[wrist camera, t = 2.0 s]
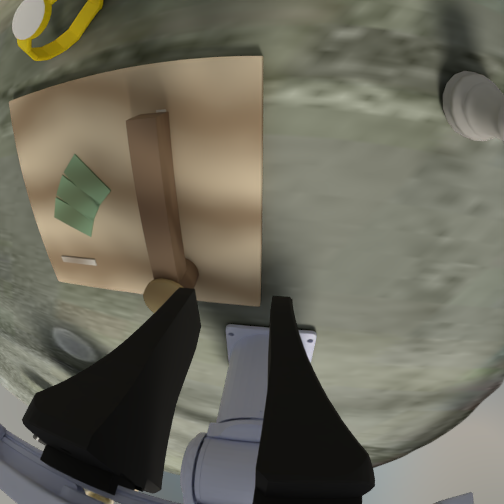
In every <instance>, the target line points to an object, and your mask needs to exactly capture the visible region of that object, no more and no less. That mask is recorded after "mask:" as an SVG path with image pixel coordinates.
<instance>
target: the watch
mask: <svg viewBox="0 0 504 504" xmlns="http://www.w3.org/2000/svg"><path fill="white" fill-rule="evenodd" d="M56 1H57V0H24V1H23V2H22V3H21V4H20V6H19V7H18V8H17V10H16V13H15V15H14V18H13V22H12V30H13V34H14V36H15V37H16V38H17V44H18V46H19V47H20V48H21V49H22V50H23V51H24V52H25V53H26V54H28V55H29V56H30V57H31V58H32V59H33V60H35V61H42V60H49V59H51V58H53V57H55V56H57V55H59V54H61V53H63V52H64V51H66V50H67V49H68V48H70V47H71V46H72V45H73V44H74V43H76V42H77V41H78V40H79V39H80V37H81V36H82V34H83V33H84V31H85V30H86V28H87V27H88V25H89V24H90V22H91V21H92V20H93V18H94V17H95V15H96V14H97V13H98V11H99V10H100V9H102V6H103V0H88V1H87V2H86V4H85V5H84V7H83V8H82V10H81V11H80V12H79V14H78V15H77V17H76V18H75V20H74V21H73V23H72V24H71V26H70V28H69V29H68V30H67V31H66V32H64V33H63V34H62V35H61V36H59V37H58V38H57V39H56V40H55V41H53V42H51V43H49V44H47V45H45V46H43V47H38V48H31V44H32V39H34V38H36V37H37V36H39V35H40V34H41V33H42V32H43V30H44V29H45V28H46V26H47V24H48V22H49V20H50V16H51V11H52V4H54V3H55V2H56Z"/></svg>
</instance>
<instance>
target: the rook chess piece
mask: <svg viewBox="0 0 504 504" xmlns="http://www.w3.org/2000/svg"><path fill="white" fill-rule="evenodd" d="M443 110H444V113H445V116H446V119H447V121H448V123H449V124H450V125H451V127H452V128H453V129H454V130H455V132H457V133H459V134H460V135H462V136H464V137H466V138H469V139H471V140H478V141H486V140H489V139H492V138H497V139H501V140H503V142H504V94H502V92H501V91H500V89H498V87H497V86H496V84H495V83H494V82H492V81H491V80H490V79H488V78H487V77H485V76H484V75H481V74H477V73H476V72H470V71H463V72H460V73H457V74H454V76H453V77H452V78H451V79H450V80H449V81H448V82H447V84H446V87H445V90H444V93H443Z"/></svg>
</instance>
